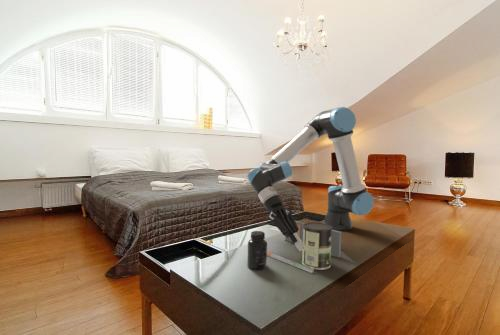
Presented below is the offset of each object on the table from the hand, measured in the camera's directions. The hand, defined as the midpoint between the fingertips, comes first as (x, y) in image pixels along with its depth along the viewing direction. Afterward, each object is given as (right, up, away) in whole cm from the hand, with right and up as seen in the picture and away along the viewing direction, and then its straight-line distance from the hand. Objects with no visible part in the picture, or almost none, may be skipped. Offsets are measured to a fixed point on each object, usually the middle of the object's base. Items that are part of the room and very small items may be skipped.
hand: (302, 249), depth 97 cm
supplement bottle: (-18, -4, -8) cm, 20 cm away
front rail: (-8, -4, -2) cm, 9 cm away
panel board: (+6, -3, +12) cm, 13 cm away
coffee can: (+4, -4, -4) cm, 7 cm away
